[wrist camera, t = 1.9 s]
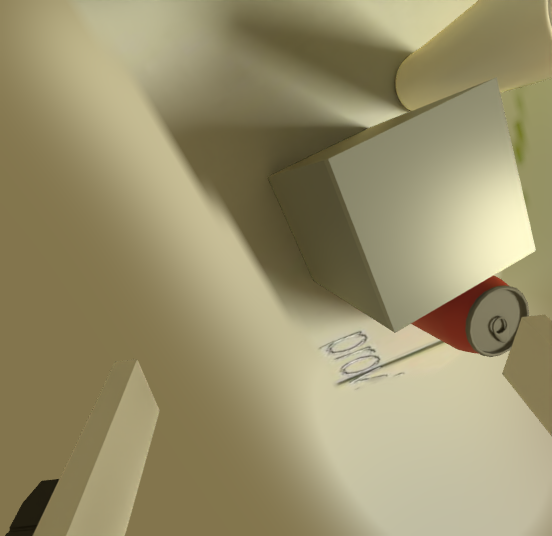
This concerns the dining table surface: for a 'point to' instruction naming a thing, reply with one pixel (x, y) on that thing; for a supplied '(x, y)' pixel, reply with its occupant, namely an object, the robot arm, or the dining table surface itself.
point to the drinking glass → (481, 52)
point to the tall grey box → (411, 207)
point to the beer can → (479, 318)
